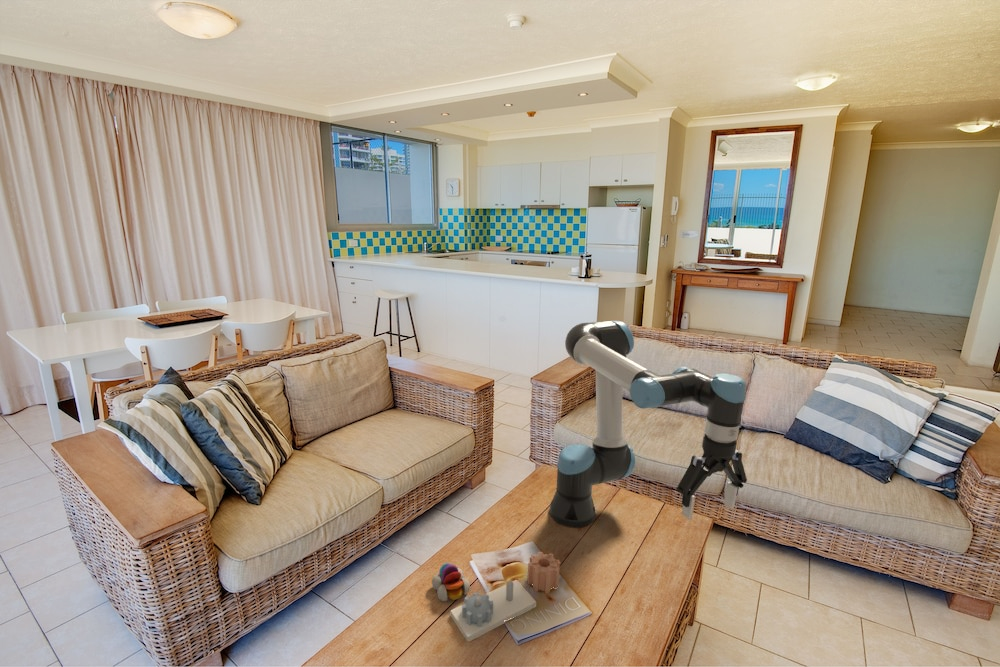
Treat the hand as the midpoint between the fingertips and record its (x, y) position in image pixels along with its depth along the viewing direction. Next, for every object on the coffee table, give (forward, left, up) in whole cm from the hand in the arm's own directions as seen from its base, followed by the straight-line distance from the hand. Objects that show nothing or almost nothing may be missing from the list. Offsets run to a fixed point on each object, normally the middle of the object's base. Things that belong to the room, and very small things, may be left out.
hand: (707, 511), depth 123 cm
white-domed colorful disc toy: (-35, -56, -25) cm, 71 cm away
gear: (-24, -33, -25) cm, 48 cm away
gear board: (-23, -50, -25) cm, 60 cm away
